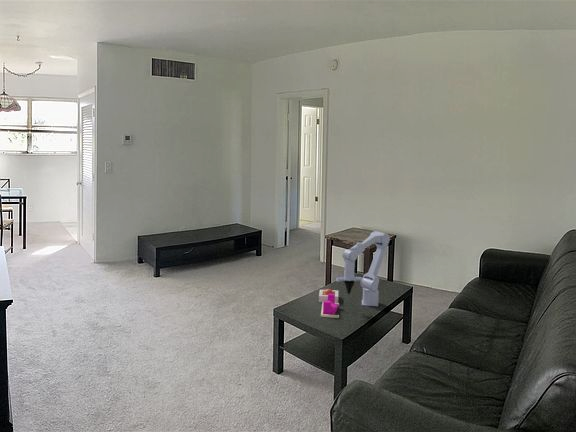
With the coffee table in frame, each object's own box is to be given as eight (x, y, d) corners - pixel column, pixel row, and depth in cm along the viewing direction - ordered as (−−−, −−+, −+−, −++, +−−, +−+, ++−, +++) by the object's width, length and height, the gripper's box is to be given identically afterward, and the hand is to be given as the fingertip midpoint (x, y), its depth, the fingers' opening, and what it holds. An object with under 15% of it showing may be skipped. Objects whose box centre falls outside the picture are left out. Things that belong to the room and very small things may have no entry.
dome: (334, 296, 291) (334, 287, 290) (334, 300, 284) (334, 291, 283) (323, 295, 292) (323, 287, 291) (322, 299, 285) (323, 290, 284)
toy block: (333, 316, 263) (334, 303, 261) (322, 314, 264) (323, 302, 263) (338, 306, 277) (339, 294, 275) (328, 305, 278) (328, 293, 277)
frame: (339, 305, 279) (339, 303, 279) (338, 317, 259) (339, 315, 259) (322, 304, 280) (322, 302, 280) (320, 316, 260) (320, 314, 260)
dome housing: (338, 296, 293) (338, 290, 293) (338, 303, 282) (338, 296, 281) (319, 295, 295) (319, 289, 294) (318, 302, 283) (318, 295, 283)
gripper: (360, 268, 273) (359, 290, 275) (335, 268, 271) (334, 291, 274) (363, 271, 266) (362, 294, 268) (338, 272, 265) (337, 295, 267)
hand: (348, 293), depth 271 cm, fingers closed
